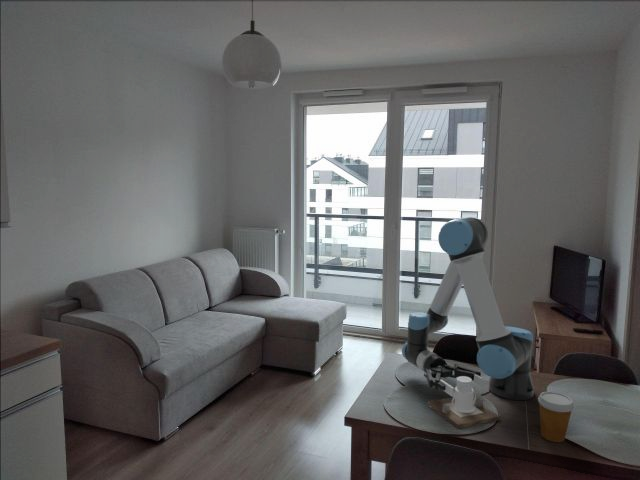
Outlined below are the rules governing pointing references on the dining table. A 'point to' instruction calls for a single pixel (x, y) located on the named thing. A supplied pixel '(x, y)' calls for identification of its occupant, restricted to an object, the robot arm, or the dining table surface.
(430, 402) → the pin stand
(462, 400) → the downlight
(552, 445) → the dining table surface
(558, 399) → the disposable coffee cup
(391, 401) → the dining table surface
